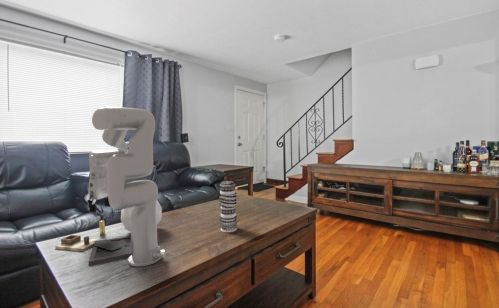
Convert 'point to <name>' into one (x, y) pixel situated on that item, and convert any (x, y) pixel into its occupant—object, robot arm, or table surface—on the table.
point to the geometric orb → (127, 212)
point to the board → (76, 243)
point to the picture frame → (110, 250)
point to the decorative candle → (228, 206)
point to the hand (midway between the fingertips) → (100, 209)
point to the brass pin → (102, 227)
